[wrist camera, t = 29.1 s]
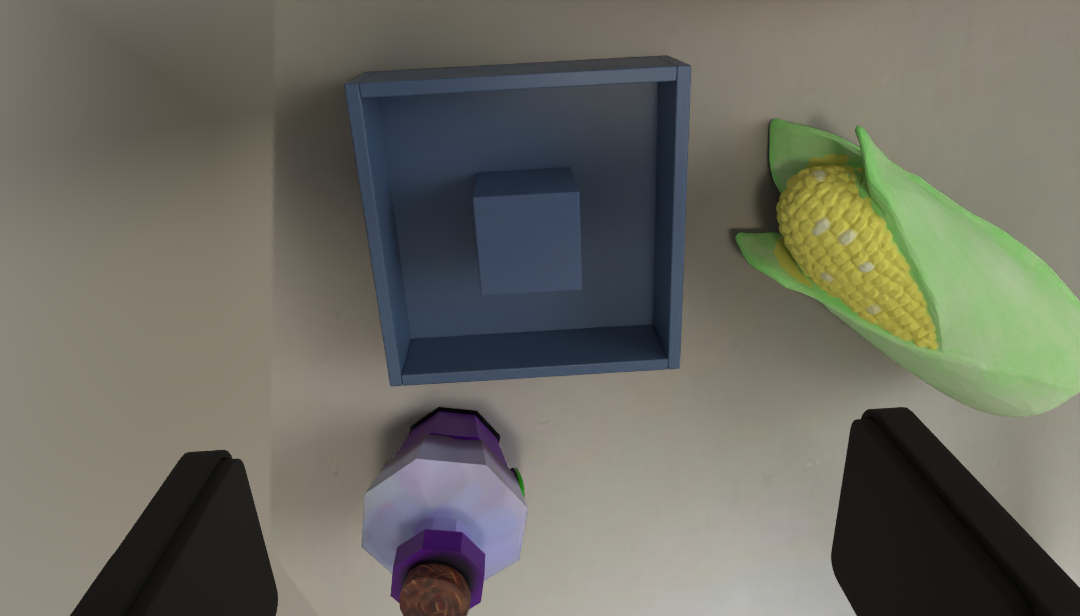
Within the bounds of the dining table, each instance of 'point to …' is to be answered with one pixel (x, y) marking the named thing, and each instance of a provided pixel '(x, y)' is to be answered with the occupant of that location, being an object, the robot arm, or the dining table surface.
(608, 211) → the slate bin
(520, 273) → the slate block
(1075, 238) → the dining table surface
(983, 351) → the corn
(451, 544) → the potion bottle
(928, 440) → the robot arm
